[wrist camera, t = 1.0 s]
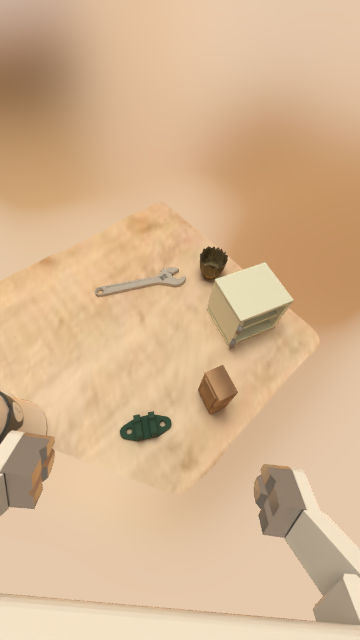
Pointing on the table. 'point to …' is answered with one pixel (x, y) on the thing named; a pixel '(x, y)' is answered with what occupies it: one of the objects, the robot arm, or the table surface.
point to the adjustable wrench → (144, 283)
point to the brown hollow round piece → (212, 262)
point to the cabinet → (247, 303)
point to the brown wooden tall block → (217, 389)
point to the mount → (145, 427)
